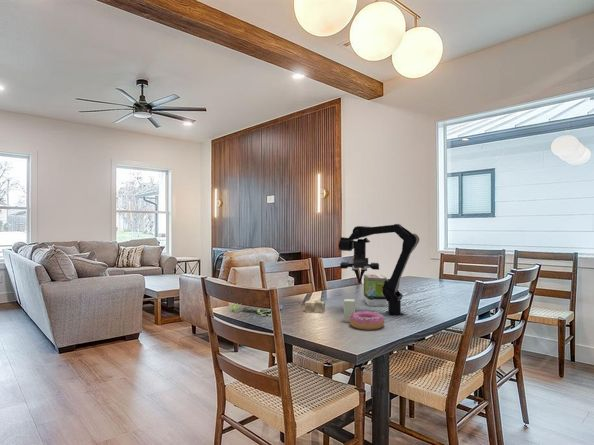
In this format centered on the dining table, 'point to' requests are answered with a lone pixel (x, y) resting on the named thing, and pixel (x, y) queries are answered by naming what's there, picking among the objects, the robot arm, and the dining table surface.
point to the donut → (366, 320)
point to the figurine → (257, 310)
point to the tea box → (374, 290)
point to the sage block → (348, 309)
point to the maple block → (315, 306)
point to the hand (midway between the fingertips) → (359, 283)
